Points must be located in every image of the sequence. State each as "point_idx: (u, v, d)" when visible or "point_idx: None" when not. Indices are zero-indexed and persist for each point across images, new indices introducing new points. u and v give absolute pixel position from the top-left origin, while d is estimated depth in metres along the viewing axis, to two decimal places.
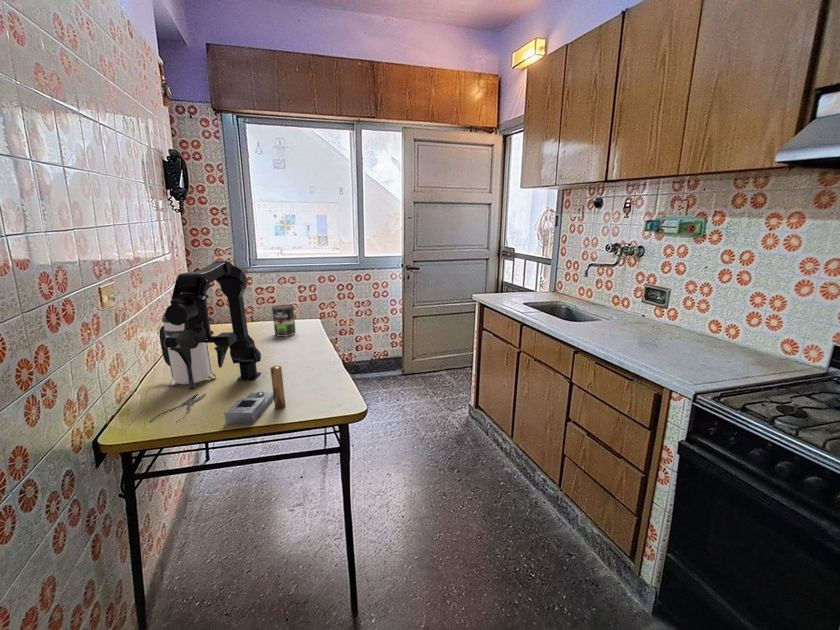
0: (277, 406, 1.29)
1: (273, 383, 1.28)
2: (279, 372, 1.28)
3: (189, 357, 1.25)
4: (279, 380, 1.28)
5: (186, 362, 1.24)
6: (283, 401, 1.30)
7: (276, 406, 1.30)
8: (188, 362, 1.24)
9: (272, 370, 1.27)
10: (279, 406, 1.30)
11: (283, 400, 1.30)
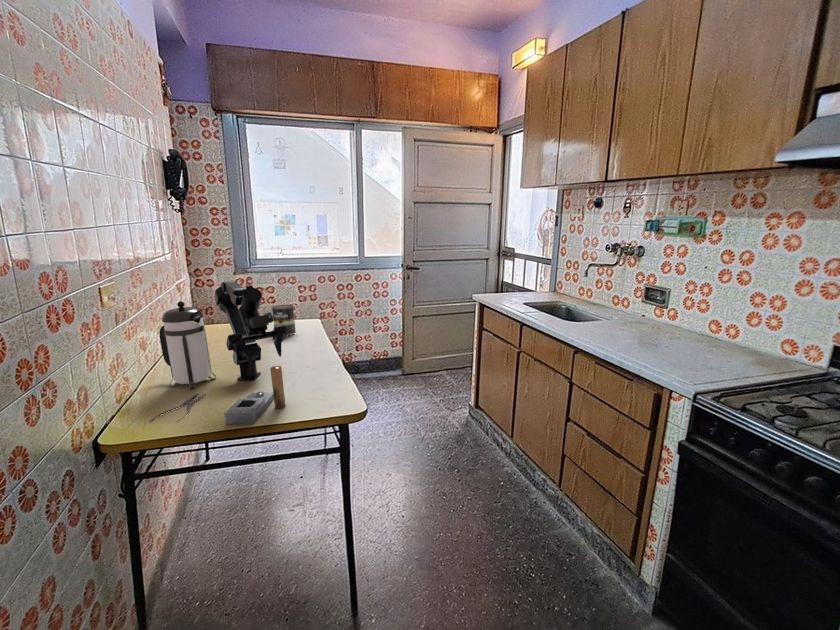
0: (277, 406, 1.29)
1: (273, 383, 1.28)
2: (279, 372, 1.28)
3: None
4: (279, 380, 1.28)
5: (249, 355, 1.31)
6: (283, 401, 1.30)
7: (276, 406, 1.30)
8: None
9: (272, 370, 1.27)
10: (279, 406, 1.30)
11: (283, 400, 1.30)
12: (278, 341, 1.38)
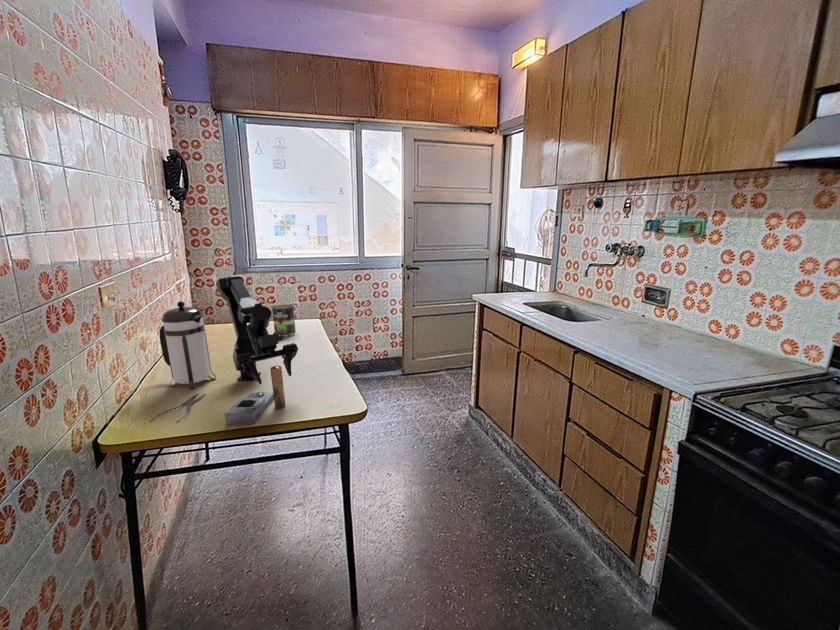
0: (277, 406, 1.29)
1: (273, 383, 1.28)
2: (279, 372, 1.28)
3: None
4: (279, 380, 1.28)
5: (258, 376, 1.27)
6: (283, 401, 1.30)
7: (276, 406, 1.30)
8: None
9: (272, 370, 1.27)
10: (279, 406, 1.30)
11: (283, 400, 1.30)
12: (288, 360, 1.34)
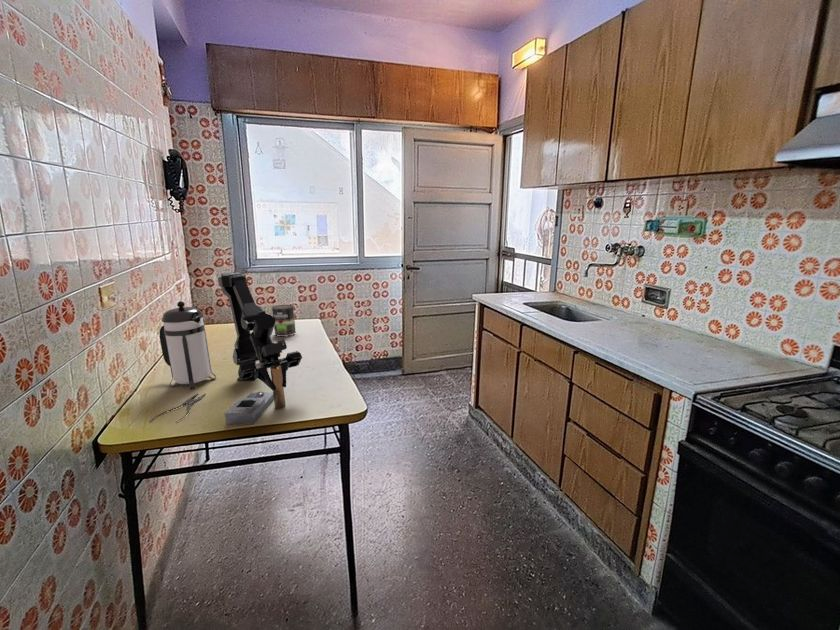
0: (277, 406, 1.29)
1: (273, 383, 1.28)
2: (279, 372, 1.28)
3: None
4: (279, 380, 1.28)
5: (271, 383, 1.28)
6: (283, 401, 1.30)
7: (276, 406, 1.30)
8: None
9: (272, 370, 1.27)
10: (279, 406, 1.30)
11: (283, 400, 1.30)
12: (283, 371, 1.31)
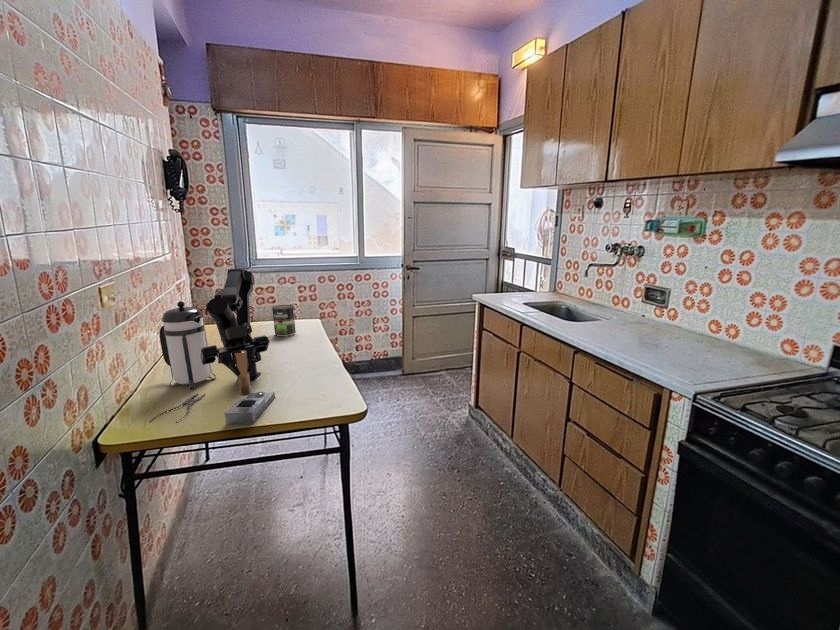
0: (242, 392, 1.23)
1: (237, 368, 1.22)
2: (243, 357, 1.21)
3: None
4: (243, 365, 1.21)
5: (235, 368, 1.21)
6: (248, 387, 1.24)
7: (241, 392, 1.23)
8: (236, 369, 1.22)
9: (236, 354, 1.21)
10: (244, 392, 1.23)
11: (248, 386, 1.24)
12: (248, 356, 1.25)
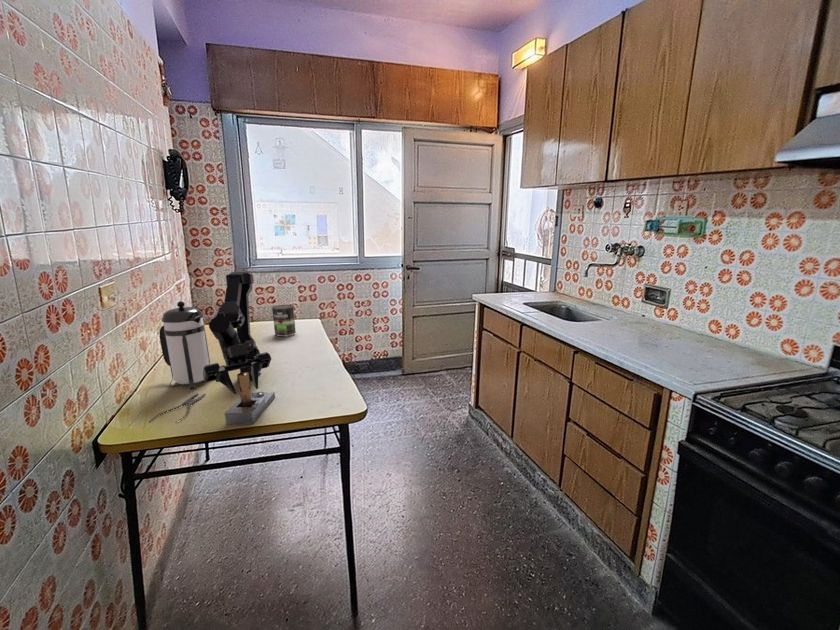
0: None
1: (240, 390, 1.23)
2: (246, 379, 1.23)
3: None
4: (246, 387, 1.23)
5: (232, 387, 1.22)
6: None
7: None
8: None
9: (239, 377, 1.22)
10: None
11: None
12: (255, 372, 1.27)
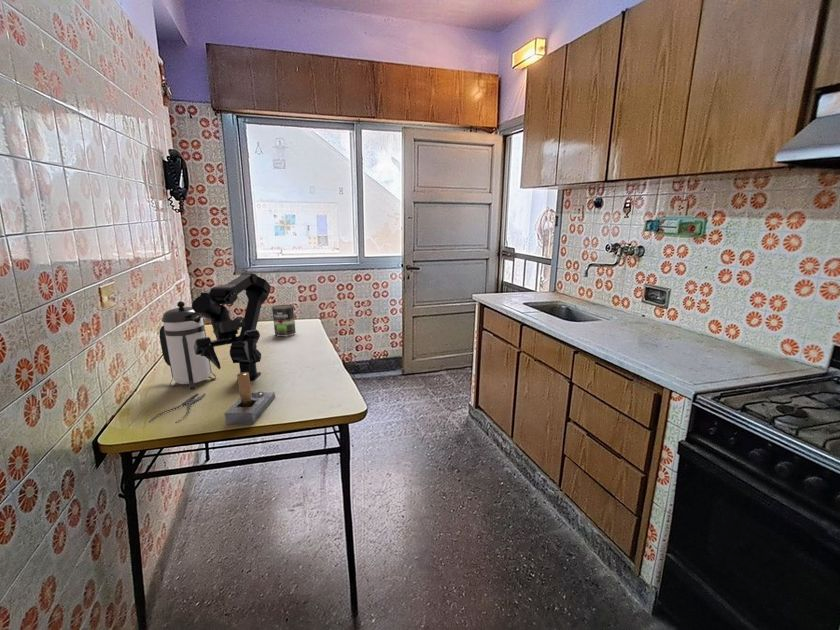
0: None
1: (240, 390, 1.23)
2: (246, 379, 1.23)
3: None
4: (246, 387, 1.23)
5: (217, 361, 1.27)
6: None
7: None
8: (218, 362, 1.28)
9: (239, 377, 1.22)
10: None
11: None
12: (249, 346, 1.34)
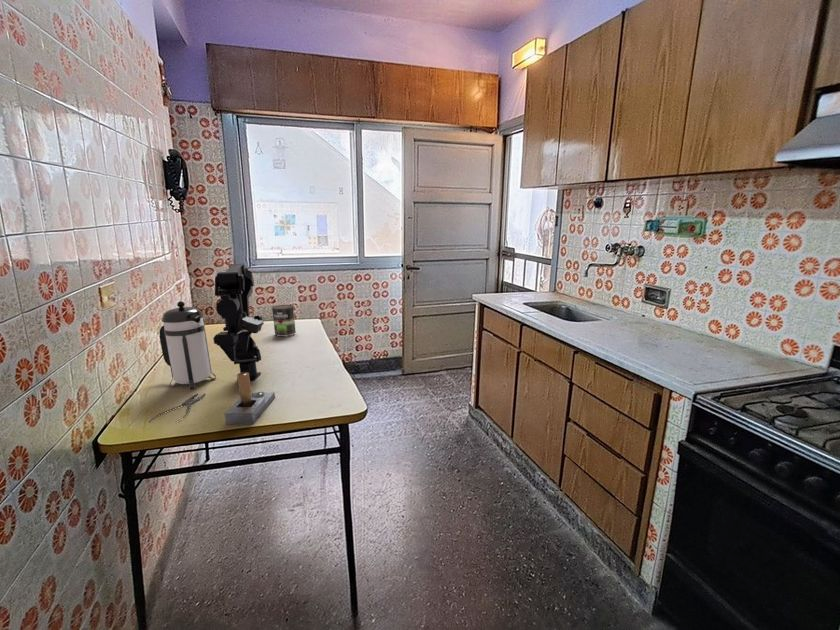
0: None
1: (240, 390, 1.23)
2: (246, 379, 1.23)
3: None
4: (246, 387, 1.23)
5: (234, 355, 1.34)
6: None
7: None
8: None
9: (239, 377, 1.22)
10: None
11: None
12: (248, 338, 1.43)
